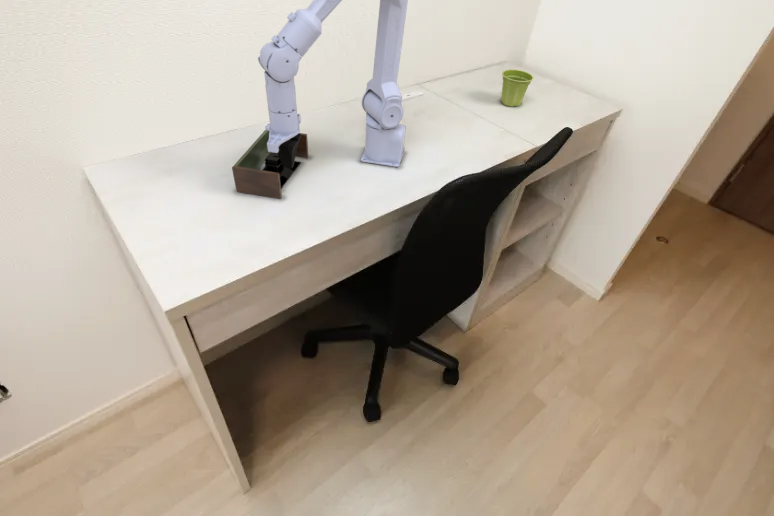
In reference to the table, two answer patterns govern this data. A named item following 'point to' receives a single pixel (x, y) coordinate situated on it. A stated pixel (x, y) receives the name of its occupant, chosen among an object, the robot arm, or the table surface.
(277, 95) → the robot arm
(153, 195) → the table surface
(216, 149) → the table surface
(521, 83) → the plant pot
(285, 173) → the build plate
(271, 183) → the stall
